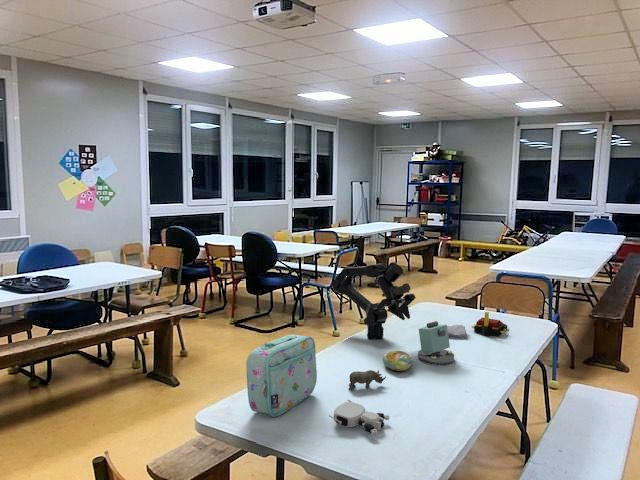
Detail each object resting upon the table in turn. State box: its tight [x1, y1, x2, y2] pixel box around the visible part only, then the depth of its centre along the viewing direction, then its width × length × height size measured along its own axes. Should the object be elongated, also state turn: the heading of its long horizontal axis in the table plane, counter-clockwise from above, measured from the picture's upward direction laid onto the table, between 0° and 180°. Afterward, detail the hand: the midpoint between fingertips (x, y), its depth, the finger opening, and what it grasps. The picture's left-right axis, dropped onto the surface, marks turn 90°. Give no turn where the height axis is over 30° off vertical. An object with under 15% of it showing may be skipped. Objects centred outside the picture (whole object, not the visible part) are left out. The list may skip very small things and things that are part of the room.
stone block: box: [447, 324, 468, 339], centre depth 231 cm, size 12×5×10 cm
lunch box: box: [245, 333, 318, 418], centre depth 158 cm, size 27×10×21 cm, turn 148°
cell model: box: [382, 350, 413, 372], centre depth 192 cm, size 11×8×15 cm
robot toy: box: [328, 399, 390, 435], centre depth 146 cm, size 12×4×15 cm
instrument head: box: [418, 320, 451, 353], centre depth 200 cm, size 8×10×11 cm
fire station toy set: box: [471, 311, 508, 337], centre depth 238 cm, size 14×20×11 cm
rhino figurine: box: [348, 369, 387, 391], centre depth 173 cm, size 4×14×6 cm, turn 105°
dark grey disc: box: [417, 349, 455, 366], centre depth 200 cm, size 14×14×3 cm
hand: (406, 319), depth 211 cm, fingers open, 3 cm apart
